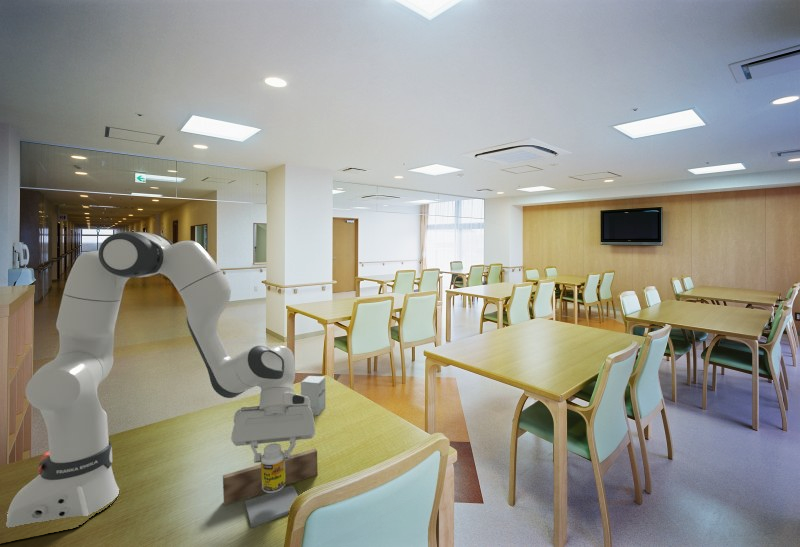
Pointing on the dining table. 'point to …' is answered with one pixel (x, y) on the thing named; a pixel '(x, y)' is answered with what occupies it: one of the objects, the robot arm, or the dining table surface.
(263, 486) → the supplement bottle
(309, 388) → the supplement box
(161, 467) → the dining table surface
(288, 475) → the walnut screen
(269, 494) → the grey mat
